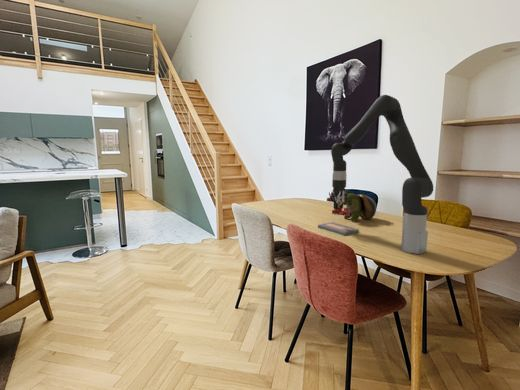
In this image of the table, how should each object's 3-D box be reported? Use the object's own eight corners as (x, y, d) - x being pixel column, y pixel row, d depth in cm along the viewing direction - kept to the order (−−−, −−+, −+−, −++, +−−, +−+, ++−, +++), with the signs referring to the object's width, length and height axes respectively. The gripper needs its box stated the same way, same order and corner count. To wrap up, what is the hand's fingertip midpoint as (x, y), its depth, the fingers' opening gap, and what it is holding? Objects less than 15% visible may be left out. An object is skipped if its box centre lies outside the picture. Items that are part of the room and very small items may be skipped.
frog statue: (374, 228, 183) (343, 220, 174) (359, 221, 197) (330, 214, 189) (384, 200, 181) (353, 191, 172) (368, 196, 195) (339, 187, 187)
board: (358, 232, 158) (358, 229, 157) (343, 235, 151) (343, 232, 151) (332, 224, 174) (332, 222, 174) (317, 227, 168) (317, 224, 168)
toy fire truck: (347, 217, 156) (348, 199, 154) (326, 213, 165) (326, 197, 164) (350, 216, 158) (351, 199, 156) (329, 212, 167) (329, 196, 166)
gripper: (335, 180, 152) (334, 211, 154) (353, 178, 159) (352, 208, 162) (325, 179, 158) (324, 209, 161) (343, 177, 165) (342, 206, 168)
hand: (338, 208), depth 161 cm, fingers closed on toy fire truck, 3 cm apart
